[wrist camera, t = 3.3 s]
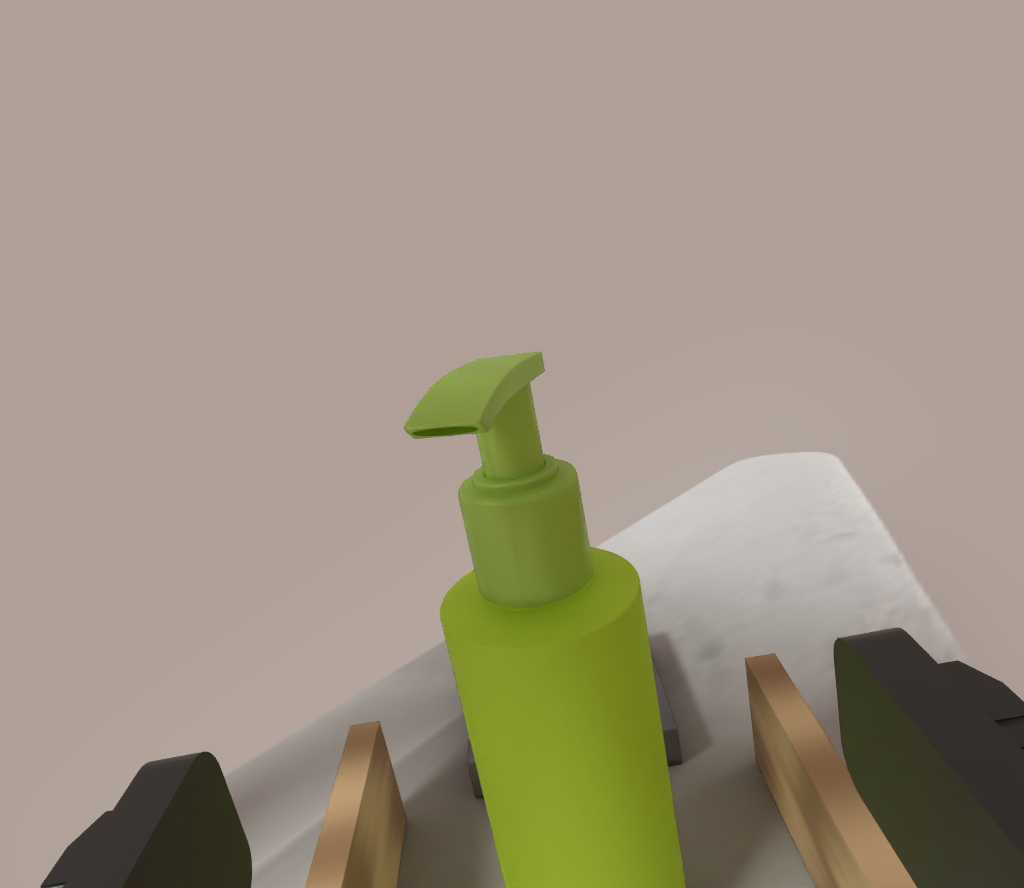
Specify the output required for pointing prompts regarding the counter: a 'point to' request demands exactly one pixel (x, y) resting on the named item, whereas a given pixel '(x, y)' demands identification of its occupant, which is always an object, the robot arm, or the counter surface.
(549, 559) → the soap dispenser
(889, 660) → the robot arm
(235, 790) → the counter surface
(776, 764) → the oak channel
